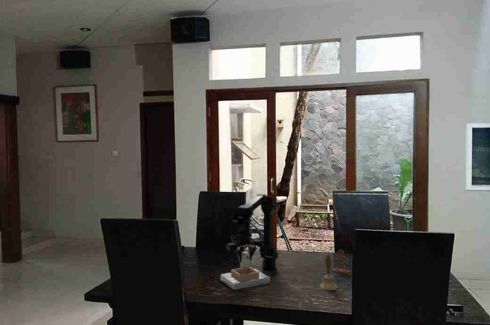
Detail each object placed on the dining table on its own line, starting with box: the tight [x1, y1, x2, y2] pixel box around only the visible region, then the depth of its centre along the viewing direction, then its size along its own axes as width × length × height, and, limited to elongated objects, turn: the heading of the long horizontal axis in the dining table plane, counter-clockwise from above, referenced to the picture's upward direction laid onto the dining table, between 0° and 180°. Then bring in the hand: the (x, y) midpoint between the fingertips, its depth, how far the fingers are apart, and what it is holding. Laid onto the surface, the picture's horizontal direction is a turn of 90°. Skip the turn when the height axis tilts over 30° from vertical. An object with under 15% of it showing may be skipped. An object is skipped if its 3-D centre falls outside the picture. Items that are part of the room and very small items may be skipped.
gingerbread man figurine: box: [331, 249, 351, 275], centre depth 220 cm, size 9×4×12 cm, turn 60°
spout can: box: [239, 251, 251, 268], centre depth 205 cm, size 5×7×7 cm
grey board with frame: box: [220, 266, 271, 291], centre depth 206 cm, size 20×16×6 cm
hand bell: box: [319, 254, 338, 291], centre depth 196 cm, size 8×8×16 cm
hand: (244, 261), depth 206 cm, fingers closed on spout can, 5 cm apart
